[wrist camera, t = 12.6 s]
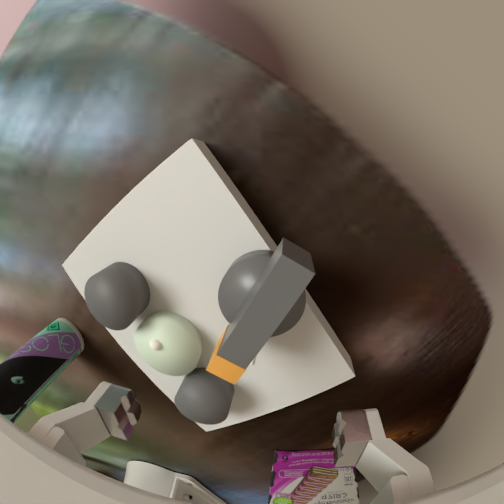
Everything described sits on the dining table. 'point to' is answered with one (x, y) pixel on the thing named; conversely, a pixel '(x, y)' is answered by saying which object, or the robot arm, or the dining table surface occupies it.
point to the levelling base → (195, 294)
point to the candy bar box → (311, 479)
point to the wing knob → (259, 304)
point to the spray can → (37, 366)
